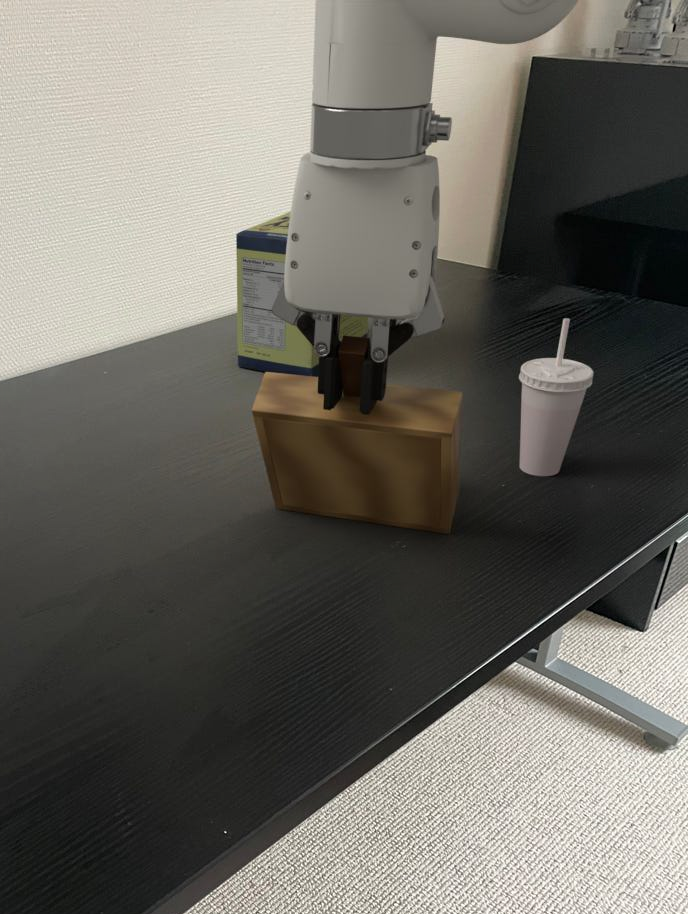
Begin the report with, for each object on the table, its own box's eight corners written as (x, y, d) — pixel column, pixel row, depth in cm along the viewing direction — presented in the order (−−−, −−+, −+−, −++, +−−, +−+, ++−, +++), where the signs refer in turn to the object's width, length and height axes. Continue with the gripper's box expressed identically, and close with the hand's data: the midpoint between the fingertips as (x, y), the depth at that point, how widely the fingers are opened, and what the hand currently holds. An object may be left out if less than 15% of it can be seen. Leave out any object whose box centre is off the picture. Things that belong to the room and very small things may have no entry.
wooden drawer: (449, 534, 84) (458, 496, 85) (453, 389, 68) (464, 345, 69) (275, 508, 89) (287, 473, 90) (240, 367, 73) (255, 327, 74)
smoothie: (579, 459, 95) (608, 314, 87) (569, 487, 90) (599, 335, 82) (511, 450, 97) (534, 307, 89) (498, 476, 93) (521, 327, 85)
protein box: (368, 343, 125) (377, 213, 116) (312, 382, 114) (316, 242, 105) (296, 332, 130) (299, 206, 121) (235, 367, 119) (233, 232, 110)
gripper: (501, 130, 64) (464, 400, 75) (268, 123, 69) (264, 378, 79) (486, 148, 58) (449, 438, 69) (233, 139, 63) (234, 412, 74)
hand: (350, 404), depth 74 cm, fingers closed on wooden drawer, 2 cm apart
